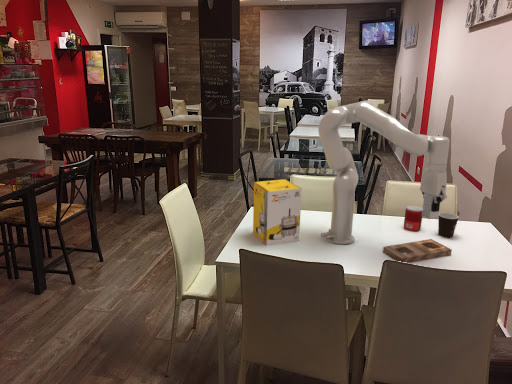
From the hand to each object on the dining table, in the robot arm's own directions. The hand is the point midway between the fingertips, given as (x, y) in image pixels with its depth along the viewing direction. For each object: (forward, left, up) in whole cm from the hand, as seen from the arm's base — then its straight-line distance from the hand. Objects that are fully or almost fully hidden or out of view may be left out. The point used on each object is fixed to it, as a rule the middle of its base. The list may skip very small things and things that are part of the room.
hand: (430, 209), depth 174 cm
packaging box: (-54, +37, -20) cm, 69 cm away
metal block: (0, 0, -3) cm, 3 cm away
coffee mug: (+25, +12, -20) cm, 34 cm away
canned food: (+14, +24, -20) cm, 34 cm away
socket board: (-4, 0, -20) cm, 20 cm away
